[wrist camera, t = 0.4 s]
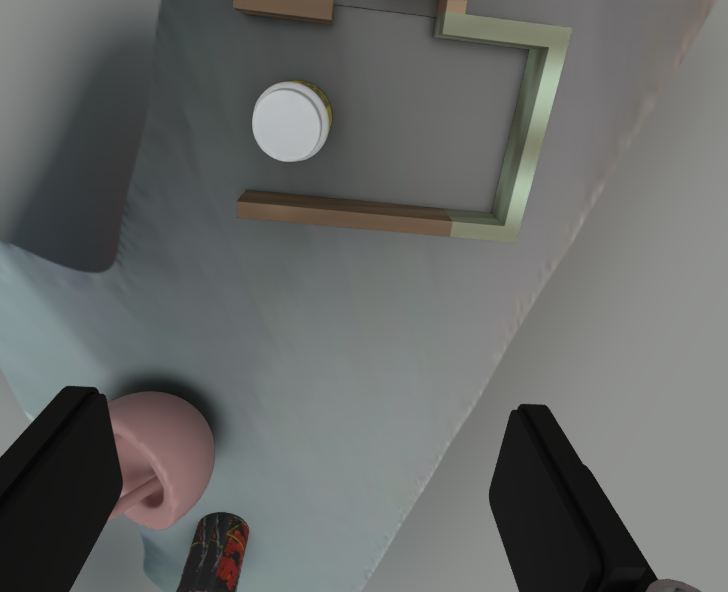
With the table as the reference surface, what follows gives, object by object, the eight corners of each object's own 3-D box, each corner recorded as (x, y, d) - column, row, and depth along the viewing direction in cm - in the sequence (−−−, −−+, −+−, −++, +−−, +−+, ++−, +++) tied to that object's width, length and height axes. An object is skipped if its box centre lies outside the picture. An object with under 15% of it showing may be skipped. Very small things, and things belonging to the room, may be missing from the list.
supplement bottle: (341, 94, 33) (339, 101, 26) (320, 157, 35) (314, 180, 28) (277, 68, 33) (256, 68, 25) (260, 134, 34) (236, 152, 27)
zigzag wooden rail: (243, -150, 27) (229, -179, 24) (582, -99, 29) (611, -119, 26) (246, 204, 37) (236, 217, 34) (502, 228, 38) (515, 242, 35)
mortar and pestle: (94, 363, 43) (15, 455, 33) (223, 366, 44) (185, 458, 33) (117, 457, 48) (55, 562, 38) (232, 459, 49) (201, 562, 39)
